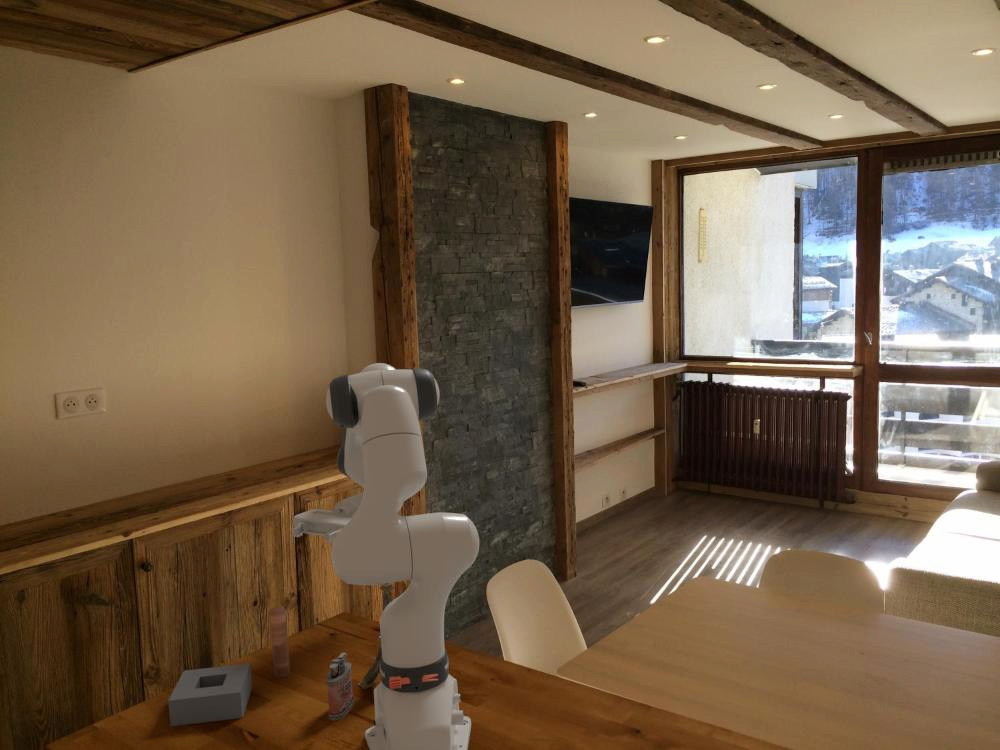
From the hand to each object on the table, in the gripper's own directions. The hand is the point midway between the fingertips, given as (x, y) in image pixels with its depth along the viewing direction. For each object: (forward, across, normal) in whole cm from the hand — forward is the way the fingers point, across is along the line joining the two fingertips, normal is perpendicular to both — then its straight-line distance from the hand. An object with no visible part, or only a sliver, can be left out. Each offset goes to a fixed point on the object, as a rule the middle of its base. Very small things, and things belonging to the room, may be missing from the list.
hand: (310, 536), depth 184 cm
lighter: (+20, +23, +25) cm, 39 cm away
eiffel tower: (+7, +26, +26) cm, 37 cm away
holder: (+29, -2, +25) cm, 38 cm away
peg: (+13, +1, +26) cm, 29 cm away
